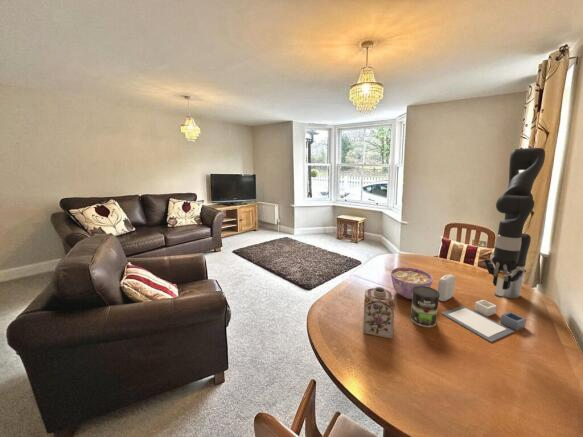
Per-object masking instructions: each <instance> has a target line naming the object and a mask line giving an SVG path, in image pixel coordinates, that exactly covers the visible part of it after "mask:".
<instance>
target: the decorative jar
mask: <svg viewBox="0 0 583 437" xmlns="http://www.w3.org/2000/svg"><path fill="white" fill-rule="evenodd" d="M363 299H364V300H363V301H364V302H363V321H362V322H363V325H362V326H363V327H362V329H363V331H362V333H363V335H364V334H366V335H369V336H370V335H371V336H376V337H381V338H386V339H393V337H394V336H393V335H394V325H395V324H394V323H395V307H396V304H395V302H396V301H395V294H394V293H393V292H391V291H390V290H388V289H386V288H384V287H381V286H377V287H376V286H375V287H373V288H368V289H365V292H364V298H363Z"/></svg>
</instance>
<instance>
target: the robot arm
mask: <svg viewBox="0 0 583 437" xmlns="http://www.w3.org/2000/svg"><path fill="white" fill-rule="evenodd" d="M545 159H546V150H545V149H544V148H542V147H527V148H526V147H525V148H515V149H513V150H512V151H511V152H510V156H509V166H508V167H509V168H508V186H507V189H506V190H505V192H503V193H502V194H501V195H500V196H499V197H498V199H497V200H496V202H495V208H496V210H497V211H498V213H501V214H504V219H502V220H501V221H499V224H498V230H497V231H498V232H497V236H496V239H495V242H494V244H495V245H494V250H493V257H492V258H487V259H485V260H484V263H485V266H486V269H487V272H488V274H489V275H492V277H493V279H492V283H493V286H495V287H496V284H497V278H498V272H504V276H505V281H504V283H503V289H504V290H505V291H504V296H503V298H509V299H519V298H520V295H521V289H522V284H523V280H524V279H523V278H524V274H525V273H527V270H526V269H525V268H526V263H527V256H528V254H529V248H530V245H531V242H532V240H531V235H530V234H528V233H523V231H524V227H525V224H526V221H527V219H528V217H529V216H530V214H531V212H533V210H534V208H535V200H534V197H533V194H532V189H533V186H534V183H535V181H536V178H537V177H538V175H539V174H540V172H541V170H542V168H543V166H544V164H545V161H546V160H545ZM520 171H521V172H520Z"/></svg>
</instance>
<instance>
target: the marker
mask: <svg viewBox="0 0 583 437" xmlns="http://www.w3.org/2000/svg"><path fill="white" fill-rule="evenodd" d="M504 281H505V276H504V272H498V278H497V284H496V286H495V289H494V290H495V291H494V296H495V297H496V298H500V299H503V298H504V291H505V290H504V289H503V283H504Z"/></svg>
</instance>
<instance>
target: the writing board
mask: <svg viewBox="0 0 583 437" xmlns="http://www.w3.org/2000/svg"><path fill="white" fill-rule="evenodd" d="M441 315H442V316H444V317H446V318H448V319H450V320H452V322H455V323H457V324H458V325H460V326H462V327H463V328H464V329H467V330H468V331H470V332H472V333H474V334H475V335H477V336H479V337H481V338H482V339H484V340H485V341H488V342H489V343H493V342H496V341H498V340H500V339H502V338H504V337H507V336H509V335H511V334H513V333H515V330H513V329H511V328H509V327H507V326H505V325H503V324H501V323H500V322H498V321H497V322H496V321H495V320H493V319H491V318H489V317H487V316H485V315H483V314H481V313H479V312H477V311H475V310H474V309H471V308H470V307H468V306H465V305H460V306H458V307H454V308H452V309H449V310H446V311H443V312H441Z"/></svg>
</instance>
